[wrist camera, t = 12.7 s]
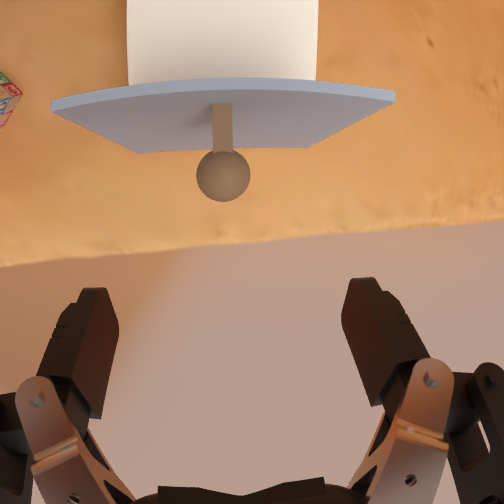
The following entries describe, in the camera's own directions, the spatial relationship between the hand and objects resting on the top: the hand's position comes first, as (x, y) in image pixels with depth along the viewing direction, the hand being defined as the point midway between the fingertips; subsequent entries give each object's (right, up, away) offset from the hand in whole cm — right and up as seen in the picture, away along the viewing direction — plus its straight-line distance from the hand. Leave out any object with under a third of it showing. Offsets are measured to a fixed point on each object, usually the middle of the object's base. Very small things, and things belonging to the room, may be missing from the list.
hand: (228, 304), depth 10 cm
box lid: (-1, +11, +11) cm, 16 cm away
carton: (-3, +26, +23) cm, 35 cm away
